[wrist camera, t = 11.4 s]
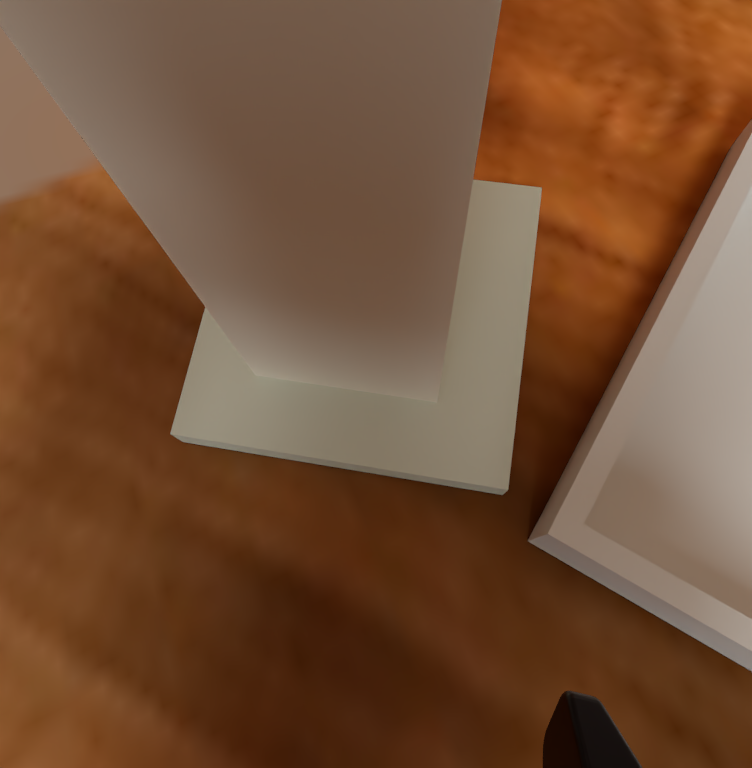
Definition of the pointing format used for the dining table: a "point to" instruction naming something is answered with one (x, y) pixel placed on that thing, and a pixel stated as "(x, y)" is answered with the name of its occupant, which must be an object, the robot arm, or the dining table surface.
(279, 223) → the carton
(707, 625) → the parts tray
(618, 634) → the dining table surface
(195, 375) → the board
